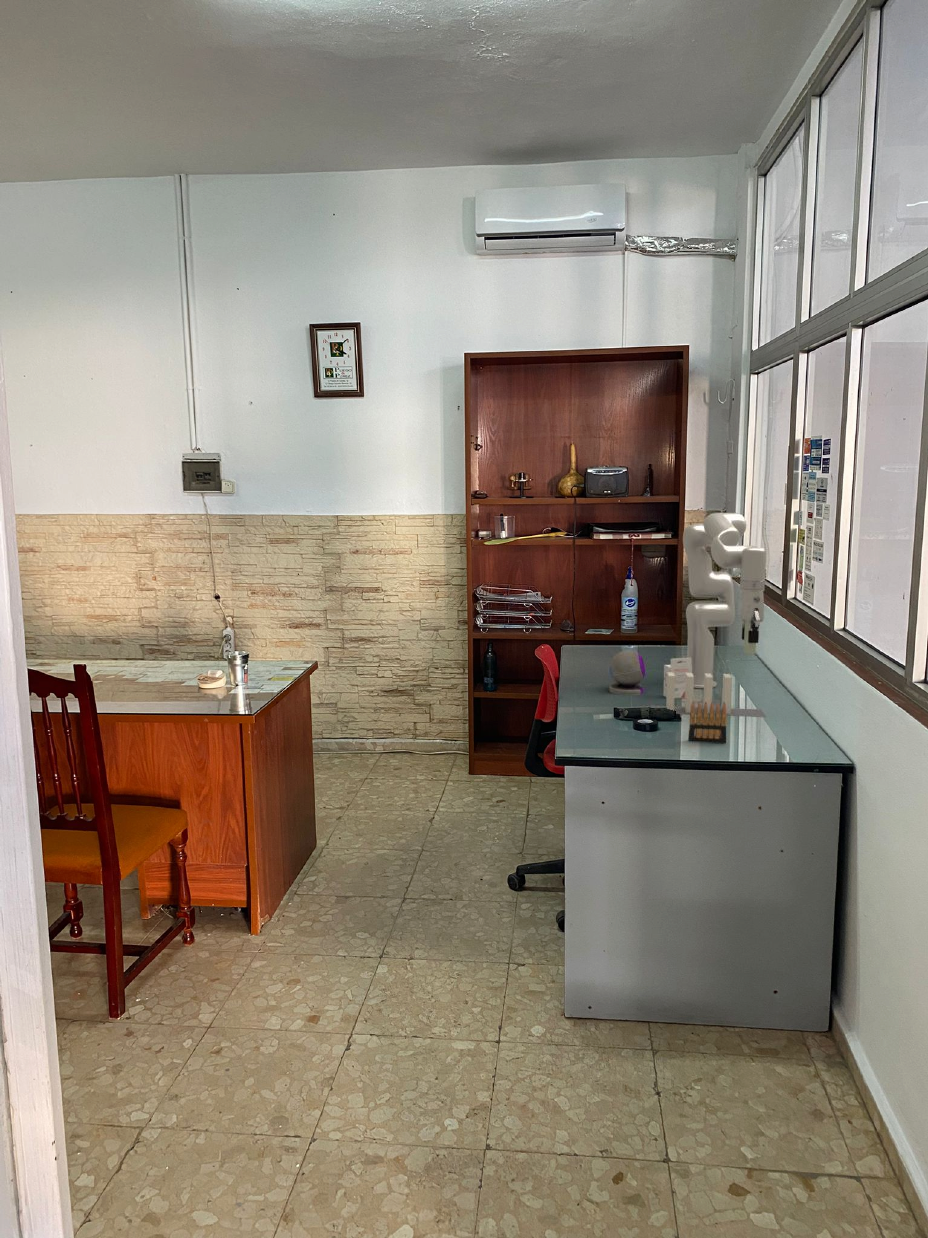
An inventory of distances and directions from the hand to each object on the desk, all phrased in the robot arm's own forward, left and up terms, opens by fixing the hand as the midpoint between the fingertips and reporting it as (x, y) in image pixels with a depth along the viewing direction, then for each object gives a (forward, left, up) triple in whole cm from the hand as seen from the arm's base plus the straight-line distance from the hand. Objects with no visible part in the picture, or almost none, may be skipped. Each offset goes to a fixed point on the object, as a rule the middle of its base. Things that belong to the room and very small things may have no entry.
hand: (749, 640), depth 295 cm
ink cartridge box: (-18, -21, -24) cm, 37 cm away
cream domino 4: (+2, -7, -24) cm, 25 cm away
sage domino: (0, 0, -4) cm, 4 cm away
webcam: (-26, -38, -24) cm, 52 cm away
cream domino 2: (+2, -19, -24) cm, 30 cm away
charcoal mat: (+2, -13, -24) cm, 27 cm away
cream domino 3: (+2, -13, -24) cm, 27 cm away
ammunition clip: (+36, -17, -24) cm, 46 cm away
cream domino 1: (+2, -25, -24) cm, 34 cm away
